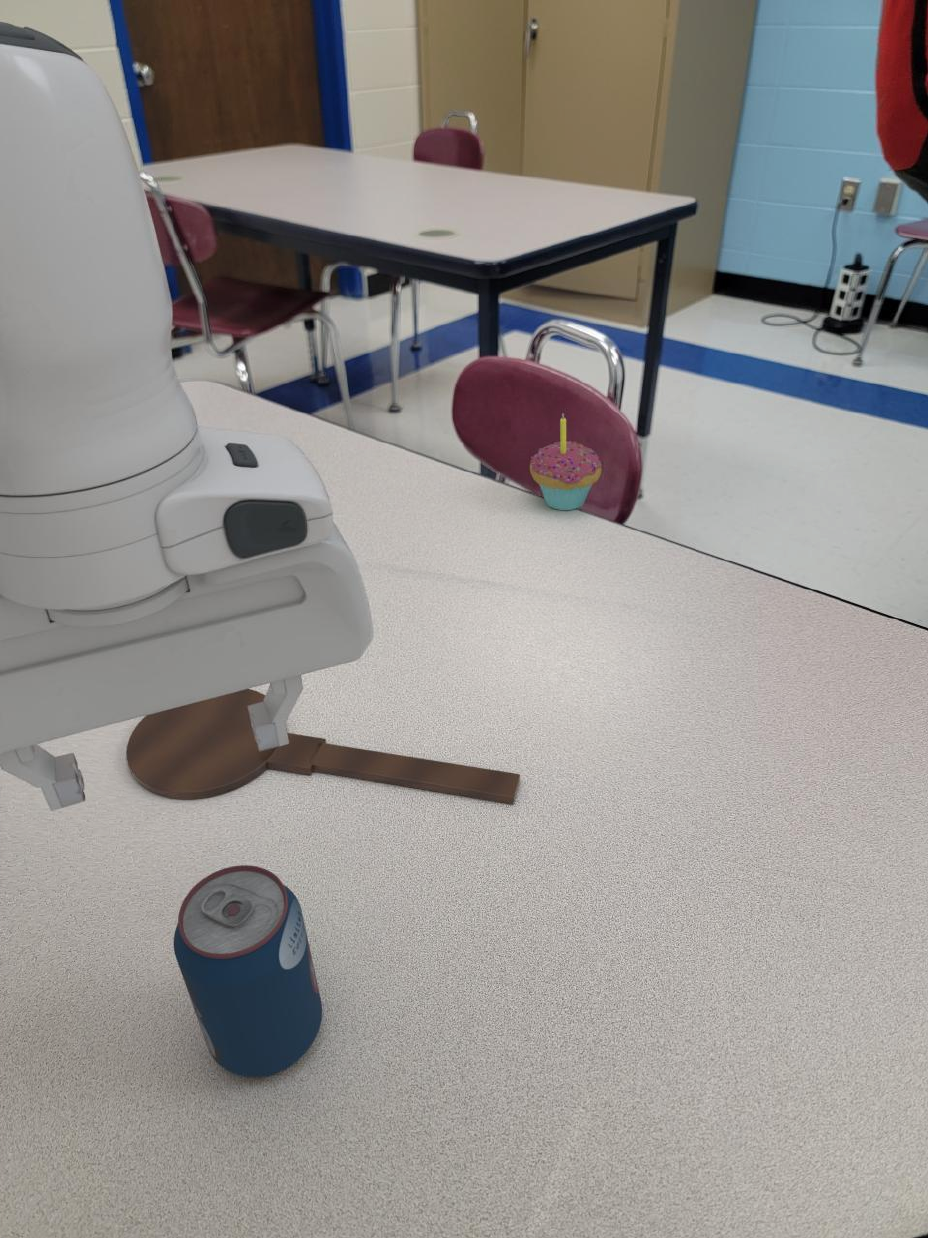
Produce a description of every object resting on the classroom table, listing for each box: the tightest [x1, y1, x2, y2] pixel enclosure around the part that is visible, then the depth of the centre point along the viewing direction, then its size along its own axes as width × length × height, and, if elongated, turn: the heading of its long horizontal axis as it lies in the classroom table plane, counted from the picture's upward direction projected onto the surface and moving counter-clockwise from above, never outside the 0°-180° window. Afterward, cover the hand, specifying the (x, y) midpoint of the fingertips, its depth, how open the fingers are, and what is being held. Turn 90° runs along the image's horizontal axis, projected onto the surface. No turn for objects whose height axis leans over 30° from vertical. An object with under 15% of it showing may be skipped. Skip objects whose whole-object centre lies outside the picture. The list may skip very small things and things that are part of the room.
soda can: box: [173, 864, 323, 1078], centre depth 51 cm, size 7×7×12 cm
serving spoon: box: [125, 688, 521, 805], centre depth 74 cm, size 33×13×1 cm, turn 76°
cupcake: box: [529, 412, 603, 511], centre depth 105 cm, size 9×8×12 cm
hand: (173, 767), depth 43 cm, fingers open, 8 cm apart
